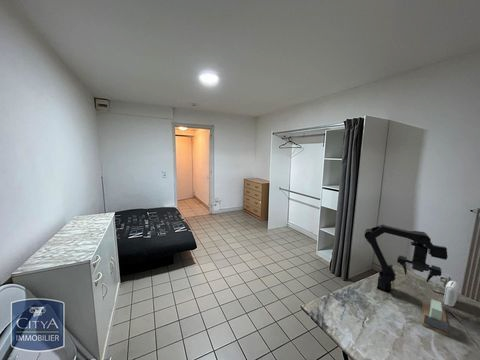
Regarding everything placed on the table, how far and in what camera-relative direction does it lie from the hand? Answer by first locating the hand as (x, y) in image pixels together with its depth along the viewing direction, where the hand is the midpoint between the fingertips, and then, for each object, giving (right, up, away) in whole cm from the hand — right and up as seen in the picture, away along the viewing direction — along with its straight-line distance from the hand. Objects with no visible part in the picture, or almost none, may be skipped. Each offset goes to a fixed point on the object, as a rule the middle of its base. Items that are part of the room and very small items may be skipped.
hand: (416, 278), depth 114 cm
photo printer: (+18, -13, -2) cm, 22 cm away
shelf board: (-2, -15, -13) cm, 19 cm away
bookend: (-8, -14, -19) cm, 25 cm away
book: (-5, -14, -16) cm, 22 cm away
